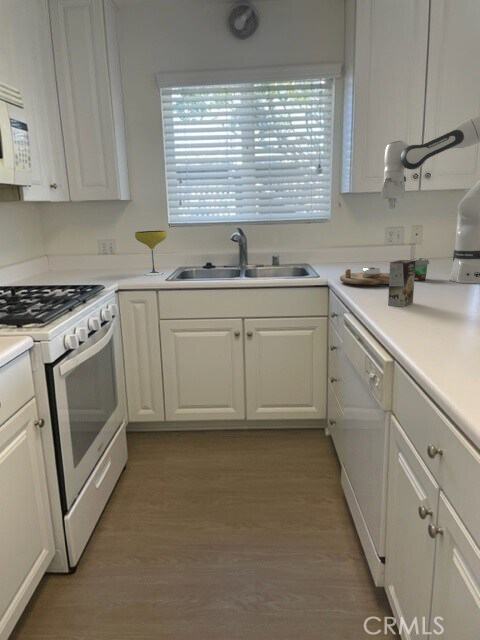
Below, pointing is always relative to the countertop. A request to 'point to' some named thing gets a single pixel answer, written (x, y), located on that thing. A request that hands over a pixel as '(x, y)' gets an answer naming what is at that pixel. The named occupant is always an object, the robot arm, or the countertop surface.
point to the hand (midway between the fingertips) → (392, 208)
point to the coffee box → (401, 283)
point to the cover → (371, 272)
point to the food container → (421, 269)
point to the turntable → (358, 279)
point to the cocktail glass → (151, 240)
